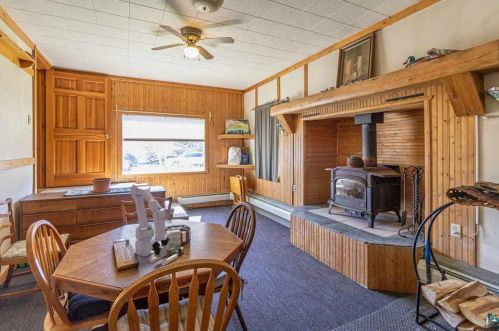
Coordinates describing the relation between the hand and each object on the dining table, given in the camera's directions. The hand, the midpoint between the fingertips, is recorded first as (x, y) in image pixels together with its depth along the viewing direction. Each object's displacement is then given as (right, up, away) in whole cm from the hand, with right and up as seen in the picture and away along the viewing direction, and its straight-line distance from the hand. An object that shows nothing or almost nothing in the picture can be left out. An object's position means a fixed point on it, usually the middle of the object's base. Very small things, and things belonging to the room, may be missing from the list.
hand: (160, 252), depth 152 cm
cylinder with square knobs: (+5, -5, +12) cm, 14 cm away
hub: (0, -2, 0) cm, 2 cm away
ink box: (+2, -4, +20) cm, 21 cm away
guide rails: (+1, -5, +3) cm, 6 cm away
